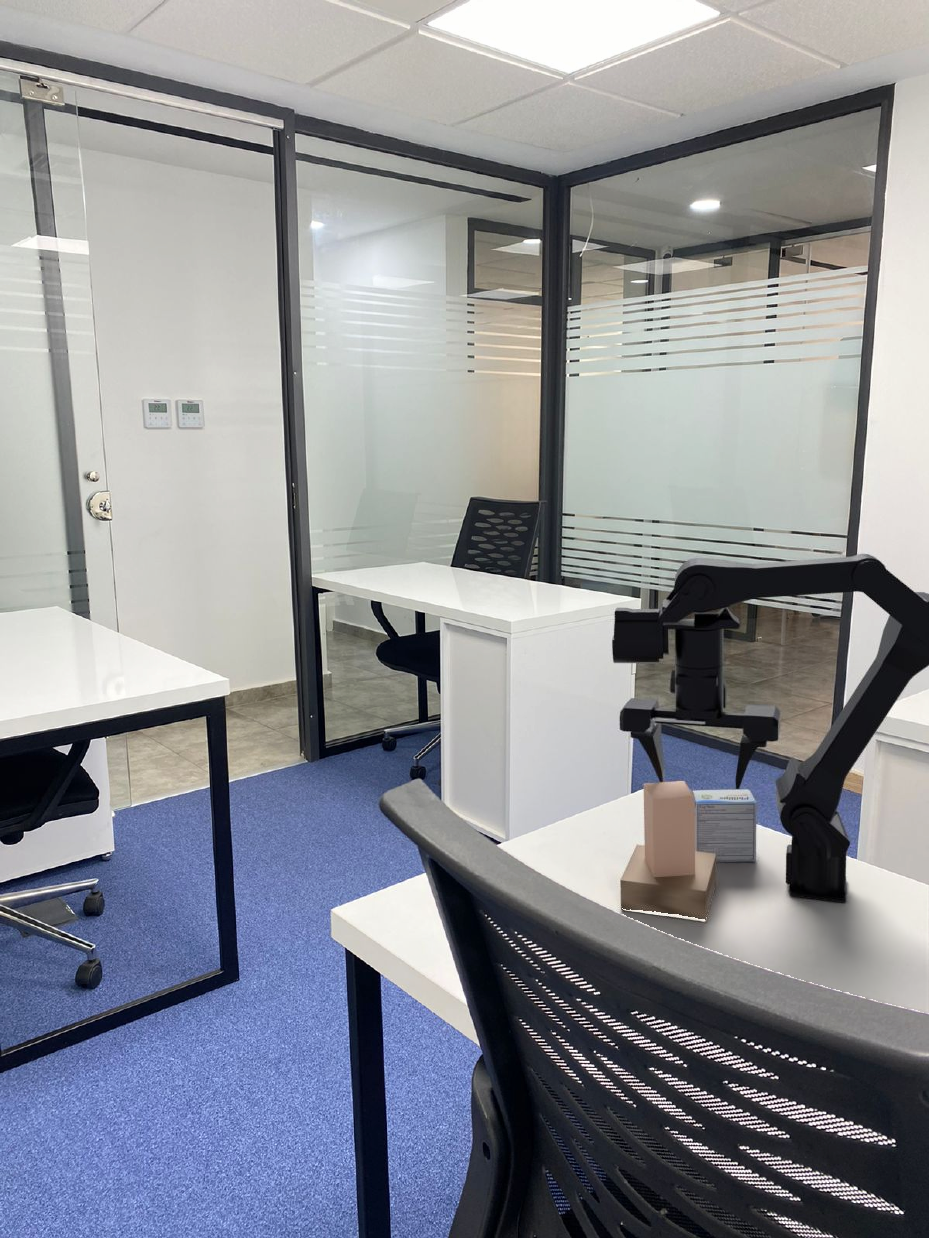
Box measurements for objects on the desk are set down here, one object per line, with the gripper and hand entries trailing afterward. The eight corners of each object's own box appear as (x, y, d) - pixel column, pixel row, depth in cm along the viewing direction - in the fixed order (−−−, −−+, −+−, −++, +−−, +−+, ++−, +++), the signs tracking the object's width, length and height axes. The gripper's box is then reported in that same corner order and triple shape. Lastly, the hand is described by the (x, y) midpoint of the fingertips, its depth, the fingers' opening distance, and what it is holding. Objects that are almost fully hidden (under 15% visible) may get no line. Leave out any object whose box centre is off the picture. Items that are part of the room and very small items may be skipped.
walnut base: (716, 882, 117) (716, 853, 116) (705, 922, 108) (705, 890, 107) (637, 872, 121) (636, 844, 120) (621, 910, 112) (620, 879, 111)
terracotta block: (684, 855, 116) (683, 780, 114) (695, 874, 111) (694, 796, 109) (644, 858, 116) (643, 783, 114) (653, 877, 111) (652, 798, 109)
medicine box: (750, 848, 126) (750, 788, 124) (756, 863, 122) (757, 801, 120) (691, 848, 127) (690, 789, 125) (695, 863, 123) (695, 802, 121)
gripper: (783, 650, 116) (781, 768, 119) (635, 645, 123) (637, 756, 126) (778, 673, 106) (776, 801, 109) (617, 666, 113) (619, 786, 116)
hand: (699, 784), depth 115 cm, fingers open, 9 cm apart
